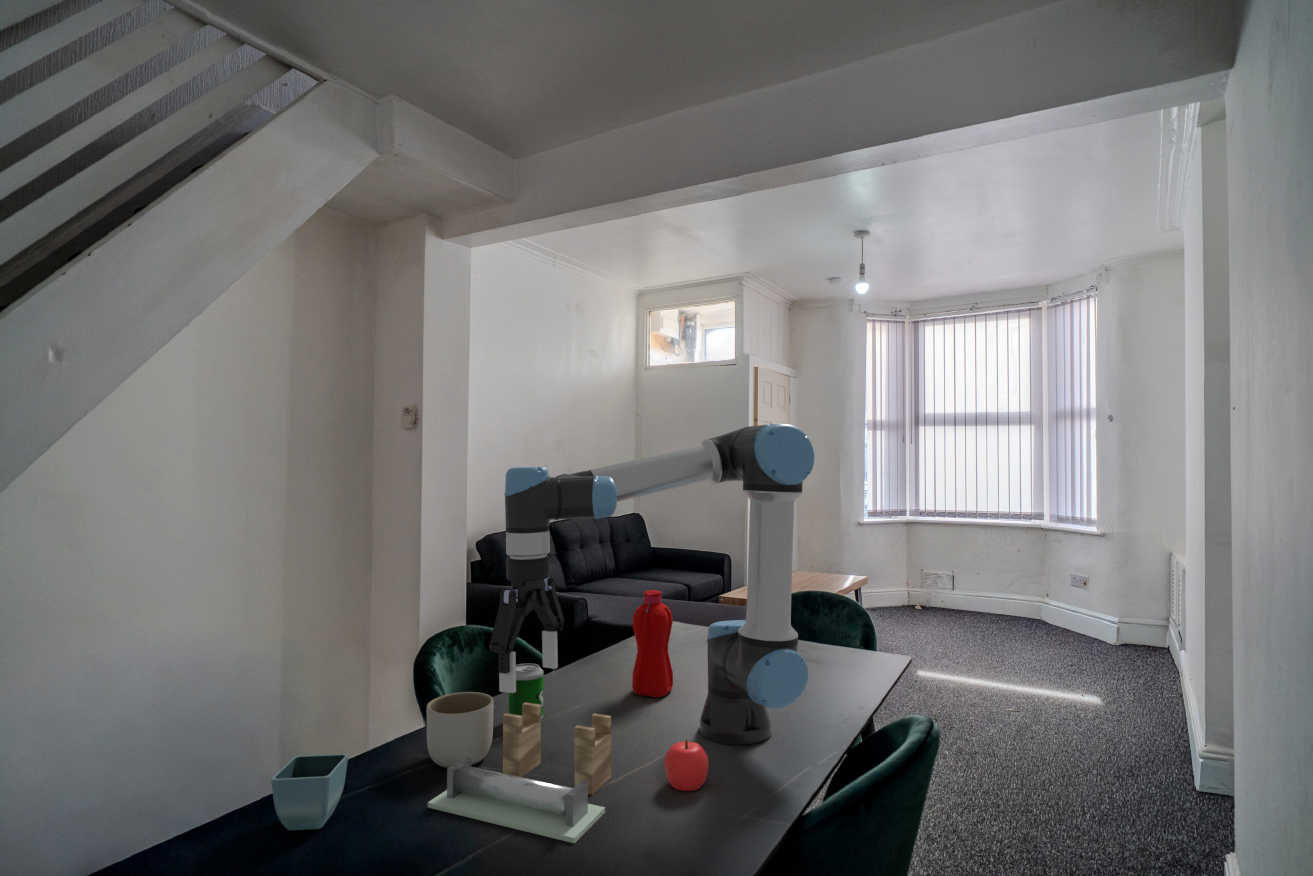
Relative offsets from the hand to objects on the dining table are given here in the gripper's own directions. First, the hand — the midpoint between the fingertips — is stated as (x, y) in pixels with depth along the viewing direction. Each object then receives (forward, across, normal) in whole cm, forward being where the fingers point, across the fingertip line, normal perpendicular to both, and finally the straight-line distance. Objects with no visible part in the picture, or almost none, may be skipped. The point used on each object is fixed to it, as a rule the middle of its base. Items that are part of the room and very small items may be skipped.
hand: (530, 679), depth 120 cm
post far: (+20, -8, -7) cm, 23 cm away
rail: (+19, +5, 0) cm, 19 cm away
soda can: (+20, -28, -19) cm, 40 cm away
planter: (+20, -7, -21) cm, 30 cm away
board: (+20, +5, 0) cm, 20 cm away
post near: (+20, -8, +8) cm, 23 cm away
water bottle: (+21, -56, 0) cm, 60 cm away
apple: (+21, -13, +24) cm, 34 cm away
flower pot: (+19, +21, -28) cm, 40 cm away
